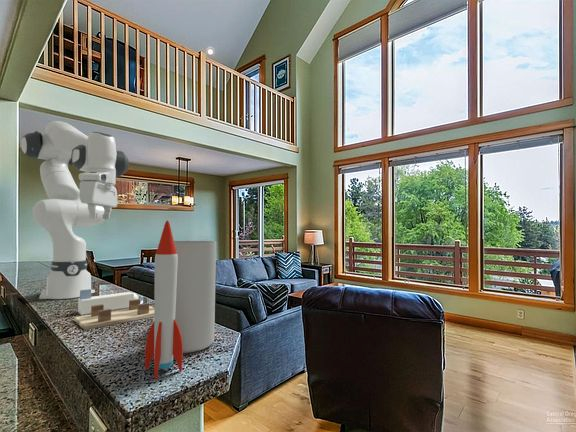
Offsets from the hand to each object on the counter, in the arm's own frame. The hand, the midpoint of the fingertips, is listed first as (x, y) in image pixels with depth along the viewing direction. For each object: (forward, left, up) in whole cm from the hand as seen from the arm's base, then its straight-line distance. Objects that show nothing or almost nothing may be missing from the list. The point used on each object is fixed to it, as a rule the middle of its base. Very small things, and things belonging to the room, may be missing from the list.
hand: (100, 218), depth 109 cm
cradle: (+15, +3, -31) cm, 34 cm away
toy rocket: (+60, -3, -31) cm, 68 cm away
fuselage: (+1, +4, -31) cm, 31 cm away
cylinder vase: (+50, +7, -31) cm, 59 cm away
